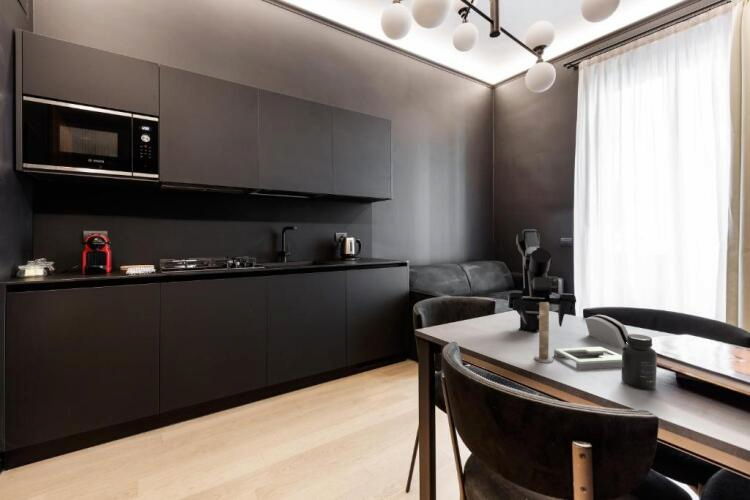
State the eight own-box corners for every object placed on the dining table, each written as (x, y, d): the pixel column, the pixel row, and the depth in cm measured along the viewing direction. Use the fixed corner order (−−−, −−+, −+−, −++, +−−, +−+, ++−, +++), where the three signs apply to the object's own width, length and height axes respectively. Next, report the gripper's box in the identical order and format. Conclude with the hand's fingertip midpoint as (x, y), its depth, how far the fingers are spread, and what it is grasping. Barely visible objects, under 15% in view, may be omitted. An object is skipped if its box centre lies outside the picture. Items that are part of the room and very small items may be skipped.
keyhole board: (579, 369, 95) (579, 361, 95) (554, 355, 106) (554, 348, 106) (630, 366, 97) (630, 359, 97) (600, 353, 108) (600, 346, 108)
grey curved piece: (638, 349, 111) (628, 320, 111) (624, 354, 111) (615, 325, 111) (602, 334, 128) (593, 309, 127) (590, 339, 128) (581, 313, 127)
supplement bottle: (614, 379, 88) (615, 333, 88) (639, 378, 89) (640, 332, 88) (637, 391, 82) (638, 341, 81) (664, 390, 82) (665, 340, 82)
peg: (532, 360, 102) (533, 303, 102) (536, 355, 106) (537, 300, 106) (551, 364, 99) (551, 305, 99) (554, 359, 103) (555, 302, 103)
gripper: (508, 266, 110) (511, 307, 100) (575, 267, 105) (584, 311, 95) (507, 287, 118) (509, 328, 108) (568, 289, 113) (577, 332, 102)
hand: (543, 324), depth 103 cm, fingers open, 9 cm apart
